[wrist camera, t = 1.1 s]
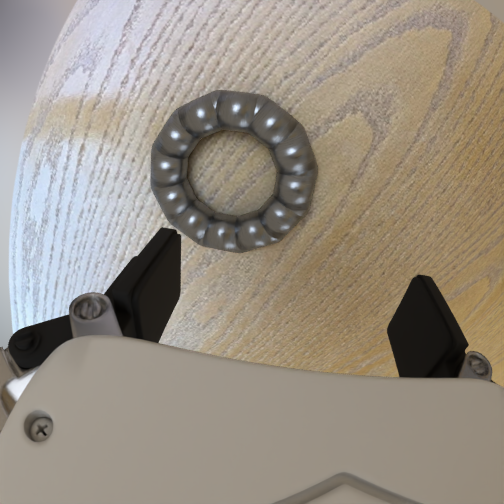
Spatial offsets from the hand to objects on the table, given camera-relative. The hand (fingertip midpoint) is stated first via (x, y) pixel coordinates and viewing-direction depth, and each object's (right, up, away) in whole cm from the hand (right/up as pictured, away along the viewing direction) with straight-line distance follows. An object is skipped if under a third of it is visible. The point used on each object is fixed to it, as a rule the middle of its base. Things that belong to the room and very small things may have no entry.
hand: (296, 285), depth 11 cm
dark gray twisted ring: (-3, +7, +10) cm, 12 cm away
